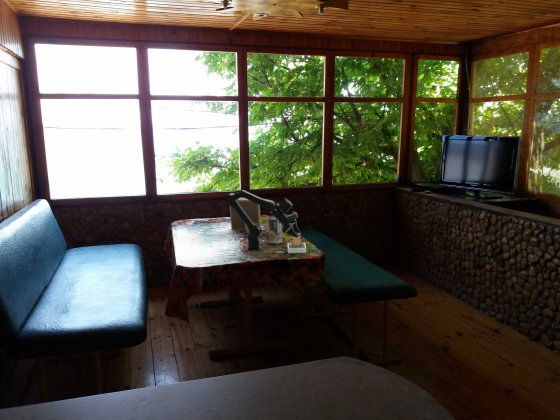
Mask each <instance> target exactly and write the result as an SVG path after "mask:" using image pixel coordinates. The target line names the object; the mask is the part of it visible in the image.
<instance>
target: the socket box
mask: <svg viewBox="0 0 560 420" xmlns="http://www.w3.org/2000/svg"><path fill="white" fill-rule="evenodd" d="M287 253H288V254H306V253H307V246H306V242H300V246H293V242H287Z"/></svg>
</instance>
